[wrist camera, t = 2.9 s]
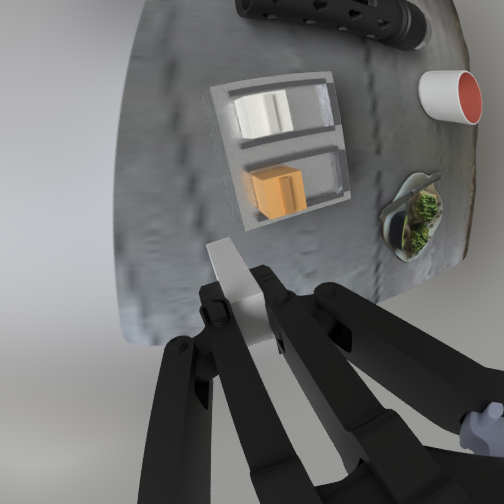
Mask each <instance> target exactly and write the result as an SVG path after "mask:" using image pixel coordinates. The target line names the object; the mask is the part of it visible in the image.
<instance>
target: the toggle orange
mask: <svg viewBox="0 0 504 504" xmlns="http://www.w3.org/2000/svg"><path fill="white" fill-rule="evenodd" d="M252 179H253V184H254V188H255V193H256V197H257V202H258V206H259V210H260V211H261V212H262V213H263V214H264V215H265V216H267V217H268V218H269V219H270V220H272V219H275V218H278V217H282V216H285V215H290V214H293V213H295V212H298V211H301V210H304V209H307V205H306V198H305V192H304V186H303V180H302V174H301V170H298V169H295V168H292V167H289V166H284V167H280V168H276V169H272V170H268V171H265V172H261V173H257V174H253V175H252Z"/></svg>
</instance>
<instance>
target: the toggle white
mask: <svg viewBox="0 0 504 504" xmlns="http://www.w3.org/2000/svg"><path fill="white" fill-rule="evenodd" d="M234 102H235V106H236V111H237V115H238V119H239V123H240V127H241V132H242V136H243V138H250V139H254V138H258V137H263V136H267V135H272V134H277V133H282V132H287V131H292V130H293V125H292V120H291V115H290V111H289V106H288V101H287V97H286V92H285V90H279V91H273V92H266V93H260V94H254V95H249V96H243V97H241V98H239V99H237V100H235V101H234Z"/></svg>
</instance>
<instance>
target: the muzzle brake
mask: <svg viewBox="0 0 504 504" xmlns="http://www.w3.org/2000/svg"><path fill="white" fill-rule="evenodd" d="M235 4H236V10H237V13H238V14H239V16H241V17H244V18H262V19H273V20H283V21H291V22H298V23H304V24H311V25H316V26H322V27H327V28H331V29H336V30H340V31H345V32H349V33H353V34H356V35H360V36H364V37H367V38H370V39H375V40H378V41H379V42H381V43H382V44H385V45H387V46H390V47H393V48H396V49H399V50H403V51H407V50H418V49H421V48H422V47H424V46H425V45H426V44H427V43H428V41H429V39H430V36H431V24H430V21H429V20H428V18H427V17H426V15H424V14H423V13H422V11H421V10H420V9H419V8H418V7H417V6H416V5H414V4H412V3H411V2H409V1H407V0H235Z"/></svg>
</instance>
